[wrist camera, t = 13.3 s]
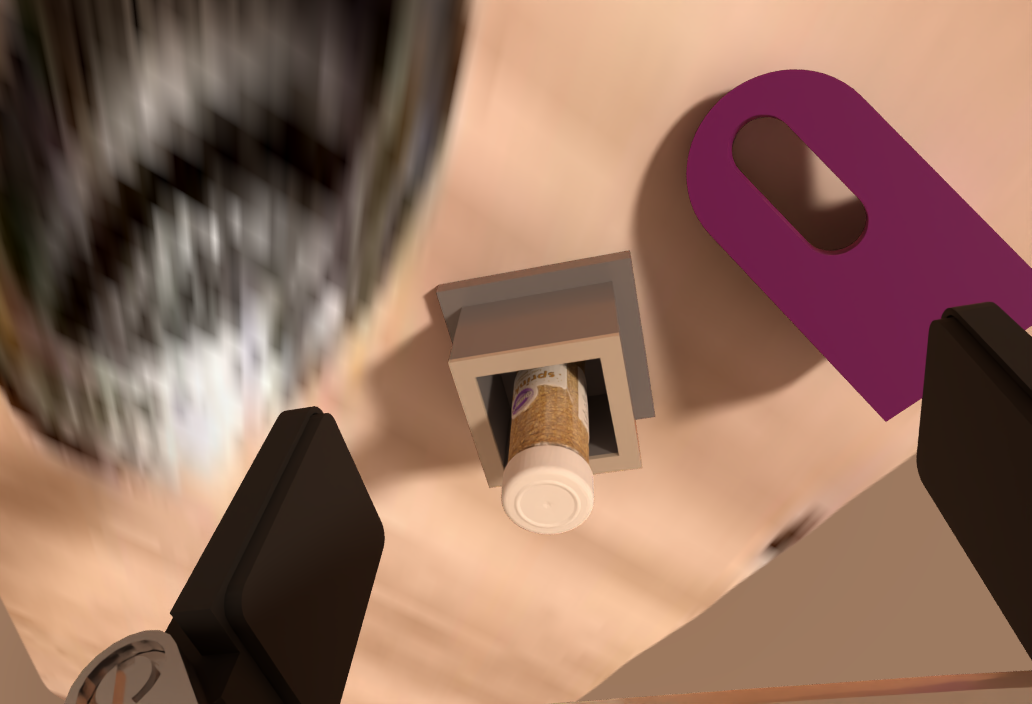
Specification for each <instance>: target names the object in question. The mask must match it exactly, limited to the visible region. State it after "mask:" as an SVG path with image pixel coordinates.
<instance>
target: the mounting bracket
mask: <svg viewBox="0 0 1032 704" xmlns="http://www.w3.org/2000/svg"><path fill="white" fill-rule="evenodd" d="M760 117H773V118H777V119H779V120H781V121H783V122H784V123H786V124H787V125H788V126H789V127H790V128H791V129H792V130H793V131H794V133H795V134H796V135H797V136H798V137H799V138H800V139H801V140H802V141H803V142H804V143H805V144H806V145H807V146H808V147H809V148H810V149H811V150H812V151H813V152H814V153H815V154H816V155H817V156H818V157H819V158H820V159H821V160H822V161H823V162H824V163H825V164H826V166H827V167H828V168H829V169H830V170H831V171H832V172H833V173H834V174H835V175H836V176H837V177H838V178H839V179H840V180H841V181H842V182H843V183H844V184H845V185H846V186H847V187H848V188H849V189H850V190H851V191H852V192H853V193H854V194H855V195H856V196H857V197H858V198H859V200H860V201H861V202H862V204H863V206H864V208H865V211H866V224H865V228H864V230H863V232H862V234H861V235H860V237H859V238H858V239H857V240H856V241H855V242H854V243H852V244H851V245H849V246H848V247H846V248H843V249H840V250H834V251H827V250H821V249H818V248H816V247H814V246H812V245H811V244H810V243H809V242H808V241H807V240H806V239H805V238H804V237H803V236H802V235H801V234H800V233H799V232H798V231H797V230H796V229H795V228H794V227H793V226H792V225H791V224H790V223H789V222H788V221H787V219H786V218H785V217H784V216H783V215H782V214H781V213H780V212H779V211H778V210H777V209H776V208H775V207H774V206H773V205H772V204H771V203H770V202H769V201H768V200H767V199H766V197H765V196H764V195H763V194H762V193H761V192H760V191H759V190H758V189H757V188H756V187H755V186H754V185H753V184H752V183H751V182H750V181H749V180H748V179H747V178H746V177H745V175H744V174H743V173H742V172H741V171H740V170H739V169H738V168H737V166H736V165H735V163H734V160H733V156H732V146H733V142H734V139H735V137H736V135H737V133H738V132H739V130H740V129H741V128H742V127H743V126H744V125H745V124H747V123H748V122H750V121H752V120H754V119H756V118H760ZM686 175H687V188H688V194H689V198H690V202H691V204H692V207H693V210H694V212H695V214H696V216H697V218H698V219H699V221H700V222H701V224H702V226H703V227H704V228H705V229H706V231H707V232H708V233H709V234H710V235H711V236H712V237H713V238H714V240H715V241H716V242H717V243H718V244H719V245H720V246H721V247H722V248H723V249H724V250H725V251H726V252H727V253H728V254H729V255H730V257H731V258H732V259H733V260H734V261H735V262H736V263H737V264H738V265H739V266H740V267H741V268H742V269H743V270H744V271H745V273H746V274H747V275H748V276H749V277H750V278H751V279H752V280H753V281H754V282H755V283H756V284H757V285H758V286H759V287H760V288H761V290H762V291H763V292H764V293H765V294H766V295H767V296H768V297H769V298H770V299H771V300H772V301H773V302H774V303H775V304H776V305H777V307H778V308H779V309H780V310H781V311H782V312H783V313H784V314H785V315H786V316H787V317H788V318H789V319H790V320H791V321H792V323H793V324H794V325H795V326H796V327H797V328H798V329H799V330H800V331H801V332H802V333H803V334H804V335H805V336H806V337H807V338H808V340H809V341H810V342H811V343H812V344H813V345H814V346H815V347H816V348H817V349H818V350H819V351H820V352H821V353H822V354H823V355H824V357H825V358H826V359H827V360H828V361H829V362H830V363H831V364H832V365H833V366H834V367H835V368H836V369H837V370H838V371H839V373H840V374H841V375H842V376H843V377H844V378H845V379H846V380H847V381H848V382H849V383H850V384H851V385H852V386H853V387H854V388H855V390H856V391H857V392H858V393H859V394H860V395H861V396H862V397H863V398H864V399H865V400H866V401H867V402H868V403H869V404H870V405H871V407H872V408H873V409H874V410H875V411H876V412H877V413H878V414H879V415H880V416H881V417H882V418H883V419H884V420H885V421H888V420H889V419H891V418H893V417H894V416H896V415H897V414H899V413H900V412H902V411H903V410H905V409H906V408H908V407H909V406H911V405H912V404H914V403H915V402H917V401H918V400H920V399H921V398H922V396H923V385H924V375H925V365H926V354H927V344H928V333H929V327H930V324H931V322H932V321H933V320H937V319H941V316H942V314H943V312H944V310H945V309H947V308H950V307H957V306H963V305H969V304H976V303H982V302H994V303H995V304H997V305H998V306H999V307H1000V308H1001V309H1002V310H1003V311H1004V312H1006V313H1007V314H1008V315H1009V316H1010V317H1011V318H1012V319H1013V320H1014V321H1015V322H1016V323H1017V324H1018V325H1019V326H1021V327H1022V328H1023V329H1024V330H1026V329H1028V328H1029V327H1031V326H1032V268H1031V267H1030V266H1029V265H1028V264H1027V263H1026V262H1025V261H1024V260H1023V259H1022V258H1021V257H1020V256H1019V255H1018V254H1017V253H1016V252H1015V251H1014V250H1013V249H1012V248H1011V247H1010V246H1009V245H1008V244H1007V243H1006V242H1005V241H1004V240H1003V239H1002V238H1001V237H1000V236H999V235H998V234H997V233H996V232H995V231H994V230H993V229H992V228H991V227H990V226H989V225H988V224H987V223H986V222H985V221H984V220H983V219H982V218H981V217H980V216H979V215H978V214H977V213H976V212H975V211H974V210H973V209H972V208H971V207H970V206H969V205H968V204H967V203H966V202H965V201H964V200H963V199H962V198H961V197H960V196H959V195H958V193H957V192H956V191H955V190H954V189H953V188H952V187H951V186H950V185H949V184H948V183H947V182H946V181H945V180H944V179H943V178H942V177H941V176H940V175H939V174H938V173H937V172H936V171H935V170H934V169H933V168H932V167H931V166H930V165H929V164H928V163H927V162H926V161H925V160H924V159H923V158H922V157H921V156H920V155H919V154H918V153H917V152H916V151H915V150H914V149H913V148H912V147H911V146H910V145H909V144H908V143H907V142H906V141H905V140H904V139H903V138H902V137H901V136H900V135H899V134H898V133H897V132H896V131H895V130H894V129H893V128H892V127H891V126H890V125H889V124H888V123H887V122H886V121H885V120H884V119H883V118H882V117H881V116H880V114H879V113H878V112H877V111H876V110H875V109H874V108H873V107H872V106H871V105H870V104H869V103H868V102H867V101H866V100H865V99H864V98H863V97H862V96H861V95H860V94H858V93H857V92H856V91H855V90H854V89H853V88H851V87H850V86H848V85H847V84H845V83H844V82H842V81H840V80H838V79H836V78H834V77H832V76H829V75H826V74H823V73H819V72H815V71H809V70H780V71H775V72H770V73H767V74H763V75H760V76H757V77H755V78H753V79H750V80H748V81H746V82H744V83H743V84H741V85H739V86H737V87H736V88H734V89H733V90H731V91H730V92H729V93H727V94H726V95H725V96H724V97H723V98H721V99H720V100H719V101H718V102H717V103H716V104H715V105H714V106H713V108H712V109H711V110H710V111H709V113H708V114H707V115H706V117H705V118H704V120H703V121H702V123H701V124H700V126H699V128H698V130H697V132H696V134H695V136H694V139H693V141H692V144H691V147H690V151H689V155H688V161H687V172H686Z"/></svg>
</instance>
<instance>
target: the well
mask: <svg viewBox="0 0 1032 704" xmlns="http://www.w3.org/2000/svg"><path fill="white" fill-rule="evenodd" d="M436 294H437V297H438V300H439V303H440V306H441V309H442V312H443V315H444V318H445V322H446V325H447V328H448V331H449V334H450V337H451V340H452V343H453V345H452V349H451V353H450V357H449V361H448V365H449V368H450V371H451V374H452V377H453V380H454V383H455V386H456V389H457V392H458V395H459V398H460V401H461V404H462V407H463V410H464V413H465V416H466V419H467V422H468V425H469V428H470V431H471V434H472V437H473V440H474V443H475V446H476V449H477V452H478V455H479V458H480V461H481V464H482V467H483V470H484V473H485V476H486V479H487V482H488V485H489V488H493V487H501V486H502V481H503V473H504V470H505V468H506V466H507V464H508V458H509V446H510V433H511V424H512V401H513V390H514V381H515V378H516V371H519V370H525V369H532V368H538V367H544V366H551V365H557V364H564V363H570V362H576V361H583V360H586V363H585V378H586V383H587V401H588V420H589V443H588V445H589V464H590V468H591V471H592V473H593V475H594V474H601V473H609V472H617V471H625V470H632V469H640V468H642V462H641V455H640V448H639V441H638V433H637V426H636V419H643V418H651V417H655V411H654V405H653V398H652V392H651V385H650V379H649V372H648V366H647V359H646V352H645V346H644V339H643V333H642V326H641V320H640V313H639V307H638V300H637V294H636V287H635V280H634V274H633V267H632V261H631V255H630V251H624V252H619V253H613V254H608V255H602V256H597V257H591V258H586V259H580V260H575V261H569V262H563V263H558V264H552V265H547V266H541V267H536V268H530V269H525V270H519V271H514V272H508V273H503V274H497V275H491V276H486V277H480V278H475V279H469V280H464V281H458V282H453V283H447V284H442V285H438V288H437V291H436Z"/></svg>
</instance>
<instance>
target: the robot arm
mask: <svg viewBox="0 0 1032 704" xmlns="http://www.w3.org/2000/svg"><path fill="white" fill-rule="evenodd" d="M917 468H918V472H919V476H920V478H921V481H922V483H923V485H924V486H925V488H926V489H927V491H928V493H929V494H930V496H931V497H932V499H933V501H934V502H935V504H936V505H937V507H938V509H939V510H940V512H941V514H942V515H943V517H944V519H945V520H946V522H947V523H948V525H949V527H950V528H951V530H952V532H953V533H954V535H955V536H956V538H957V540H958V541H959V543H960V545H961V546H962V548H963V549H964V551H965V553H966V554H967V556H968V557H969V559H970V561H971V562H972V564H973V566H974V567H975V569H976V570H977V572H978V574H979V575H980V577H981V578H982V580H983V582H984V584H985V585H986V587H987V588H988V590H989V591H990V593H991V595H992V596H993V598H994V600H995V601H996V603H997V605H998V606H999V608H1000V609H1001V611H1002V613H1003V614H1004V616H1005V617H1006V619H1007V621H1008V622H1009V624H1010V626H1011V627H1012V629H1013V630H1014V632H1015V634H1016V635H1017V637H1018V639H1019V640H1020V642H1021V644H1022V645H1023V647H1024V648H1025V650H1026V652H1027V653H1028V655H1029V657H1030V658H1031V659H1032V337H1031V336H1030V335H1029V334H1028V333H1027V332H1026V331H1025V330H1024V329H1023V328H1022V327H1021V326H1019V325H1018V324H1017V323H1016V322H1015V321H1014V320H1013V319H1012V318H1011V317H1010V316H1009V315H1008V314H1007V313H1006V312H1004V311H1003V310H1002V309H1001V308H1000V307H999V306H998V305H997V304H995V303H994V302H982V303H976V304H969V305H963V306H957V307H950V308H947V309H945V310H944V312H943V314H942V316H941V319H937V320H933V321H932V322H931V324H930V327H929V333H928V344H927V354H926V365H925V375H924V385H923V396H922V406H921V416H920V427H919V437H918V447H917ZM384 540H385V536H384V529H383V525H382V522H381V520H380V518H379V516H378V514H377V511H376V509H375V507H374V505H373V503H372V500H371V498H370V496H369V494H368V492H367V489H366V487H365V485H364V483H363V481H362V479H361V476H360V474H359V472H358V470H357V468H356V465H355V463H354V461H353V459H352V457H351V454H350V452H349V450H348V448H347V446H346V443H345V441H344V439H343V437H342V435H341V432H340V430H339V428H338V426H337V424H336V421H335V419H334V418H333V416H332V415H331V414H329V413H323V412H322V410H321V409H320V408H318V407H315V406H313V407H307V408H300V409H294V410H287V411H284V412H282V413H281V414H280V415H279V416H278V418H277V420H276V422H275V423H274V425H273V427H272V429H271V431H270V432H269V434H268V436H267V438H266V440H265V442H264V443H263V445H262V447H261V449H260V451H259V452H258V454H257V456H256V458H255V460H254V461H253V463H252V465H251V467H250V469H249V470H248V472H247V474H246V476H245V478H244V480H243V481H242V483H241V485H240V487H239V489H238V490H237V492H236V494H235V496H234V498H233V499H232V501H231V503H230V505H229V507H228V508H227V510H226V512H225V514H224V516H223V518H222V519H221V521H220V523H219V525H218V527H217V528H216V530H215V532H214V534H213V536H212V537H211V539H210V541H209V543H208V545H207V547H206V548H205V550H204V552H203V554H202V556H201V557H200V559H199V561H198V563H197V565H196V566H195V568H194V570H193V572H192V574H191V575H190V577H189V579H188V581H187V583H186V585H185V586H184V588H183V590H182V592H181V594H180V595H179V597H178V599H177V601H176V603H175V604H174V606H173V608H172V610H171V612H170V614H171V615H172V617H173V619H172V620H171V622H170V624H169V626H168V628H167V630H166V631H165V632H163V631H160V630H148V631H142V632H139V633H136V634H132V635H129V636H127V637H125V638H123V639H122V640H120V641H118V642H116V643H114V644H112V645H111V646H110V647H108V648H107V649H106V650H104V651H103V652H102V653H100V654H99V655H97V656H96V657H95V658H94V659H93V660H92V661H91V662H90V663H89V664H88V665H87V666H86V667H85V668H84V669H83V671H82V672H81V673H80V675H79V676H78V678H77V679H76V680H75V682H74V683H73V685H72V686H71V688H70V691H69V693H68V696H67V698H66V700H65V704H340V702H341V699H342V695H343V691H344V688H345V684H346V681H347V677H348V673H349V670H350V666H351V663H352V659H353V655H354V652H355V648H356V645H357V641H358V637H359V634H360V630H361V627H362V623H363V619H364V616H365V612H366V609H367V605H368V602H369V598H370V594H371V591H372V587H373V584H374V580H375V576H376V573H377V569H378V566H379V562H380V558H381V555H382V551H383V548H384ZM553 704H1032V670H1031V671H1013V672H996V673H995V672H994V673H976V674H957V675H941V676H926V677H912V678H898V679H883V680H869V681H855V682H840V683H826V684H812V685H797V686H783V687H768V688H755V689H740V690H727V691H713V692H700V693H687V694H672V695H659V696H645V697H633V698H619V699H606V700H592V701H579V702H566V703H553Z"/></svg>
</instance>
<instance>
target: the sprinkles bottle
mask: <svg viewBox="0 0 1032 704" xmlns="http://www.w3.org/2000/svg"><path fill="white" fill-rule="evenodd" d="M585 363H586V360H583V361H576V362H570V363H564V364H557V365H551V366H544V367H538V368H532V369H525V370H519V371H516V378H515V381H514V390H513V401H512V424H511V433H510V446H509V458H508V464H507V466H506V468H505V470H504V473H503V481H502V494H501V501H502V506H503V508H504V511H505V513H506V514H507V516H508V517H509V518H510V519H511V520H512V521H513V522H514V523H515V524H516V525H518V526H519V527H521V528H523V529H525V530H528V531H530V532H534V533H538V534H549V535H550V534H559V533H564V532H567V531H570V530H572V529H574V528H576V527H578V526H579V525H581V524H582V523H583V522H584V521H585V520H586V519H587V518H588V516H589V515H590V513H591V511H592V508H593V504H594V481H593V473H592V471H591V468H590V464H589V445H588V443H589V420H588V401H587V383H586V378H585Z"/></svg>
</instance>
